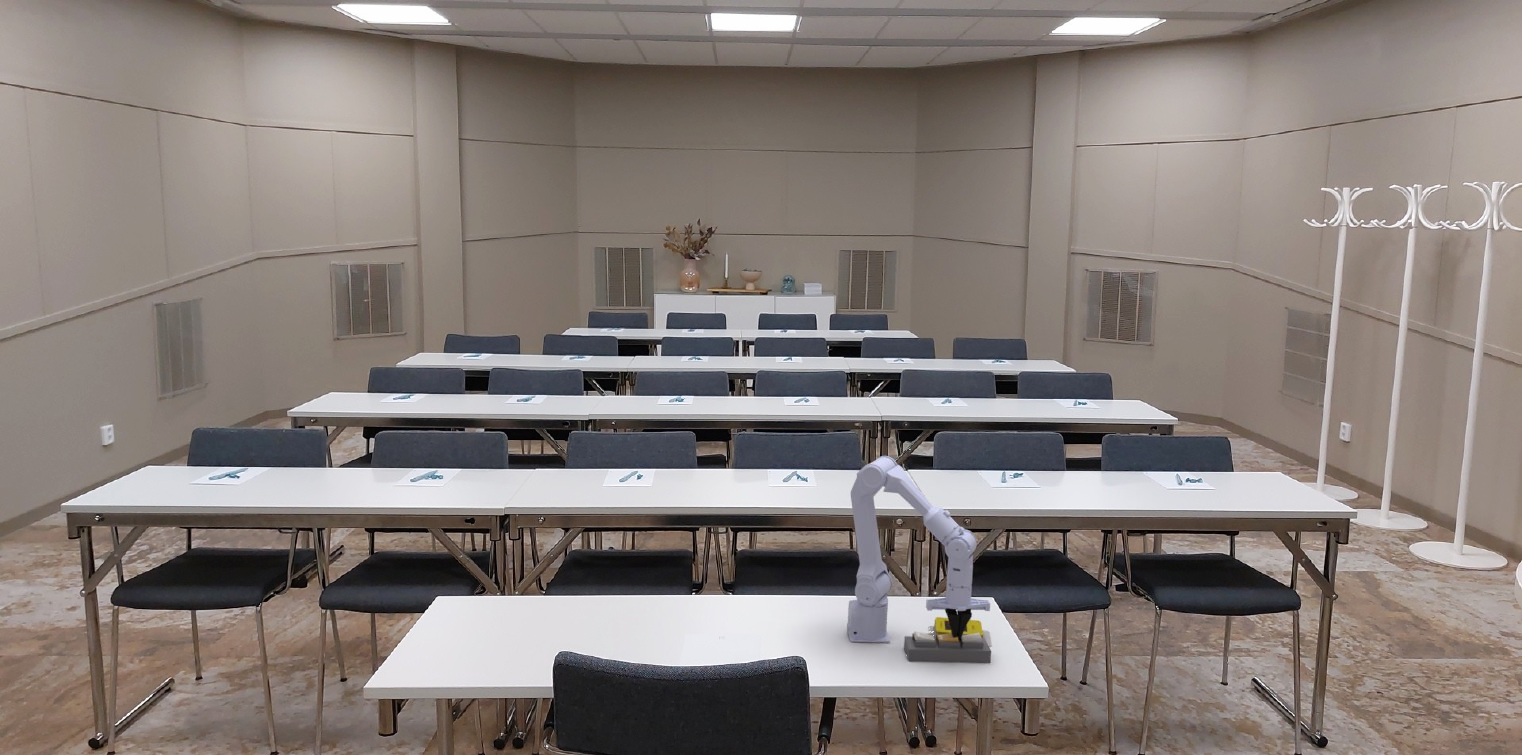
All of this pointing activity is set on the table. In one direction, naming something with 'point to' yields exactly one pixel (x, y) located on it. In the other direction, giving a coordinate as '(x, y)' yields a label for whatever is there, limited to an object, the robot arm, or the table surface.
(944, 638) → the rocker amber
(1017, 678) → the table surface
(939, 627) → the emergency button
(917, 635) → the rocker left
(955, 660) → the switch strip
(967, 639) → the rocker right
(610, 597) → the table surface
